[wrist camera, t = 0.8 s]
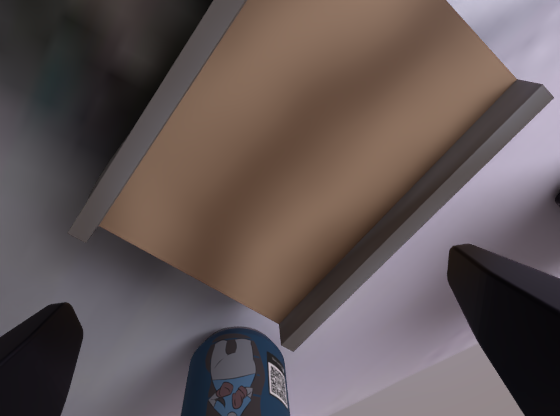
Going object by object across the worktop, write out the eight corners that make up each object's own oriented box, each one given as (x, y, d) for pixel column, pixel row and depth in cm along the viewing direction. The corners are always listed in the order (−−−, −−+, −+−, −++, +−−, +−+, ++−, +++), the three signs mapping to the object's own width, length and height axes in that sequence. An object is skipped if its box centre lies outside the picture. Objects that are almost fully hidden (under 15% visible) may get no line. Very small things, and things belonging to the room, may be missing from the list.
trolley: (471, 71, 21) (569, 92, 14) (281, 278, 26) (291, 359, 19) (295, -113, 16) (324, -199, 10) (110, 176, 22) (54, 238, 15)
